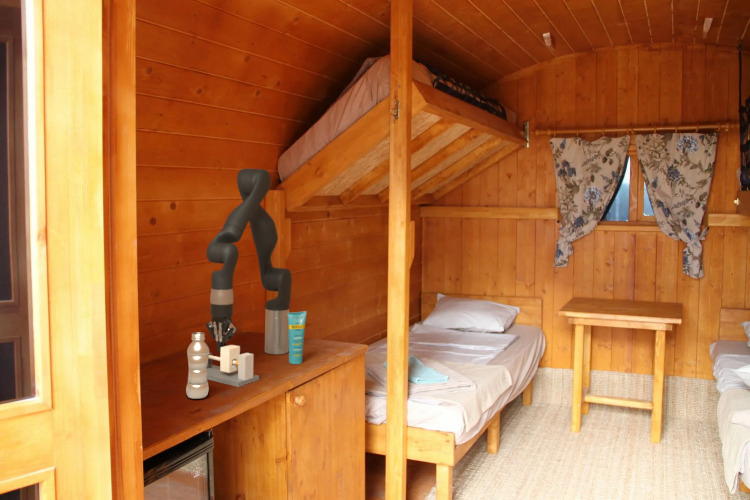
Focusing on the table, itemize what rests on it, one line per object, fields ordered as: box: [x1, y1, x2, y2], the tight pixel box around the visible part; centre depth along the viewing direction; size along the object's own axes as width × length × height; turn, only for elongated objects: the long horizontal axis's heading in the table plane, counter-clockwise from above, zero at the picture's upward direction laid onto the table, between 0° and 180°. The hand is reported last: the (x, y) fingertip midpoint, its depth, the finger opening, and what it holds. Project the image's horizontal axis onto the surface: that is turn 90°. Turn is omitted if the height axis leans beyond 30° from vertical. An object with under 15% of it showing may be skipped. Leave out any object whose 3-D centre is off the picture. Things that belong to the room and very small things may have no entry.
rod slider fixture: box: [207, 352, 260, 388], centre depth 225 cm, size 10×22×10 cm, turn 59°
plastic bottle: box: [185, 331, 210, 400], centre depth 203 cm, size 6×7×20 cm
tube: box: [288, 310, 308, 365], centre depth 247 cm, size 7×5×19 cm, turn 123°
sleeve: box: [219, 344, 241, 373], centre depth 224 cm, size 5×4×8 cm
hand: (221, 352), depth 226 cm, fingers closed
